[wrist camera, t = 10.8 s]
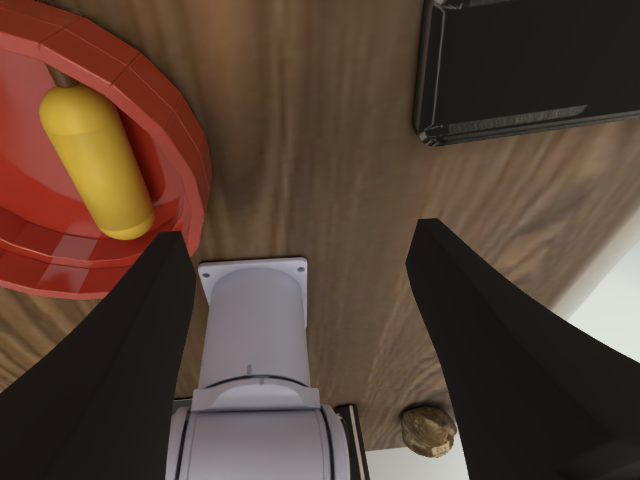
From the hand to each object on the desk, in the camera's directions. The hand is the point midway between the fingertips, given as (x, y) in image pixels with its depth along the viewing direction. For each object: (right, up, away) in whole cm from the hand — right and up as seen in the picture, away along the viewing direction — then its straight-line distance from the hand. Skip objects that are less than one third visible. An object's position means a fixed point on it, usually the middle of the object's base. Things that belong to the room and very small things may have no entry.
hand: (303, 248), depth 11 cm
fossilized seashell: (+16, -26, +42) cm, 52 cm away
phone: (+13, +10, +7) cm, 18 cm away
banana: (-12, +4, +6) cm, 14 cm away
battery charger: (+3, -24, +39) cm, 46 cm away
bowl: (-13, +5, +8) cm, 16 cm away
